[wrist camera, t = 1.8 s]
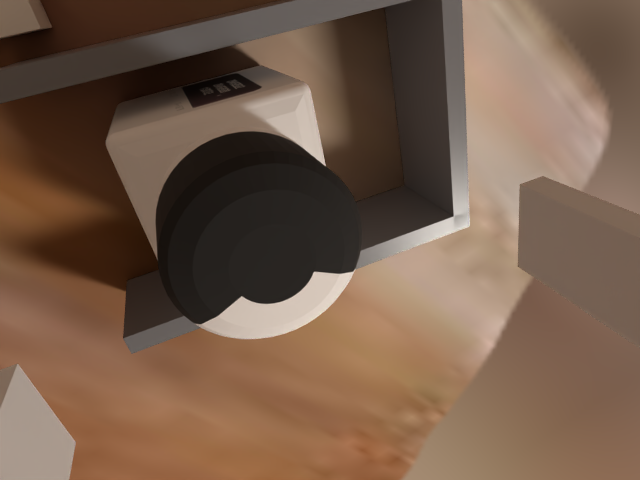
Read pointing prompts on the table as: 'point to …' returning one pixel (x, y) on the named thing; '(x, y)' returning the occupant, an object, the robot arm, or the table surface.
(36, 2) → the tray
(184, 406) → the table surface
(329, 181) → the container
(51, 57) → the bay
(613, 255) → the robot arm
